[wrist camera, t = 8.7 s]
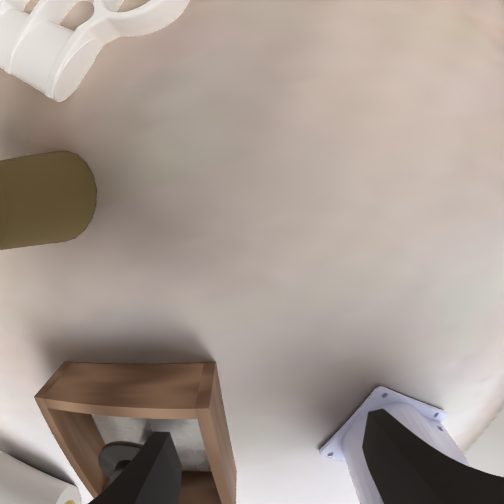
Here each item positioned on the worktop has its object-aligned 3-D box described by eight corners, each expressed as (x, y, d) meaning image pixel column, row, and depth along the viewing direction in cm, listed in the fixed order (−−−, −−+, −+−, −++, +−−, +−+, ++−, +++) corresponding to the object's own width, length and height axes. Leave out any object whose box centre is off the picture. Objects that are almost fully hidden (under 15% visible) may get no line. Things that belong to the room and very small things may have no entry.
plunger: (196, 383, 21) (182, 450, 14) (216, 464, 23) (211, 524, 16) (84, 381, 21) (47, 434, 14) (118, 459, 23) (98, 511, 16)
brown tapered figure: (45, 255, 19) (-70, 311, 8) (16, 178, 18) (-105, 189, 7) (110, 218, 19) (-10, 260, 8) (78, 133, 17) (-48, 108, 7)
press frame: (215, 361, 21) (209, 408, 16) (236, 470, 23) (235, 514, 18) (64, 361, 21) (34, 396, 16) (111, 464, 23) (96, 501, 18)
